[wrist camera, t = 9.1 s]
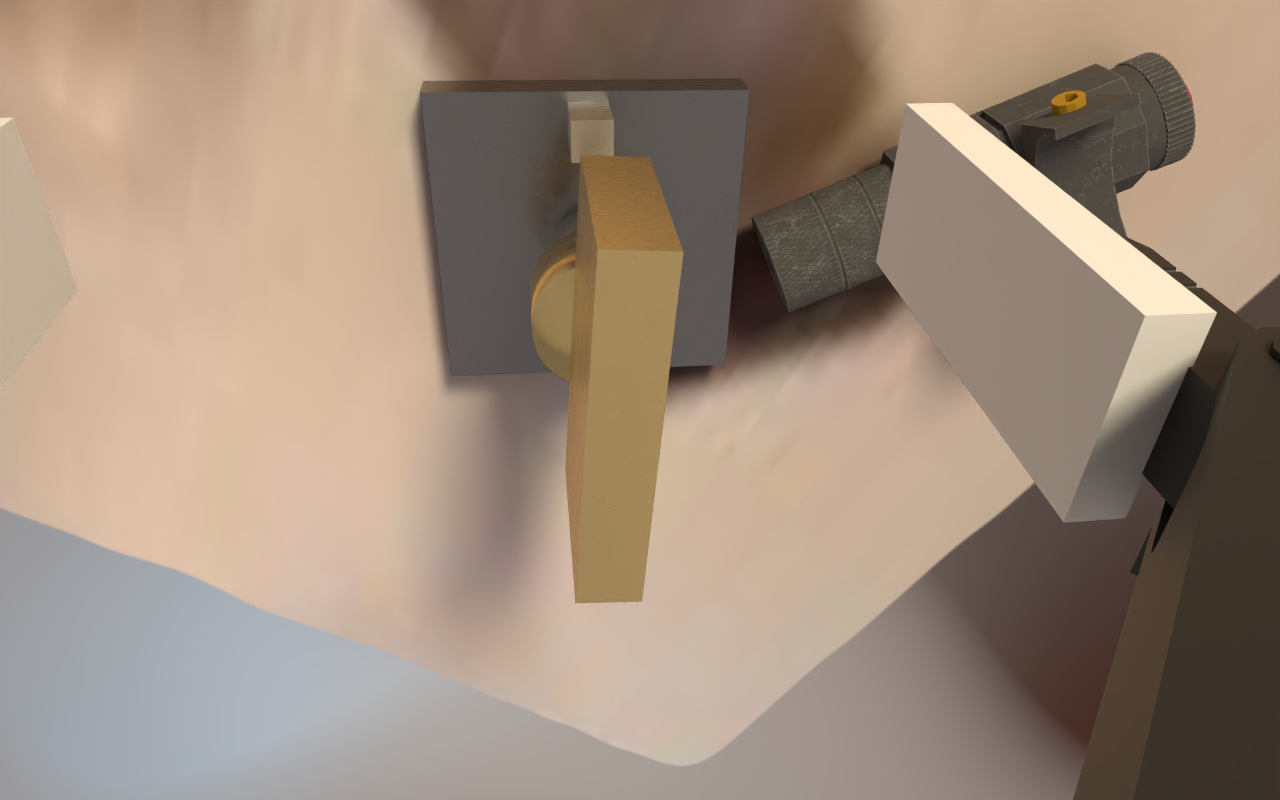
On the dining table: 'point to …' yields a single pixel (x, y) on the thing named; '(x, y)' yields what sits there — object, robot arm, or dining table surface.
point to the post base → (575, 198)
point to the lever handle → (611, 364)
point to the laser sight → (1031, 127)
